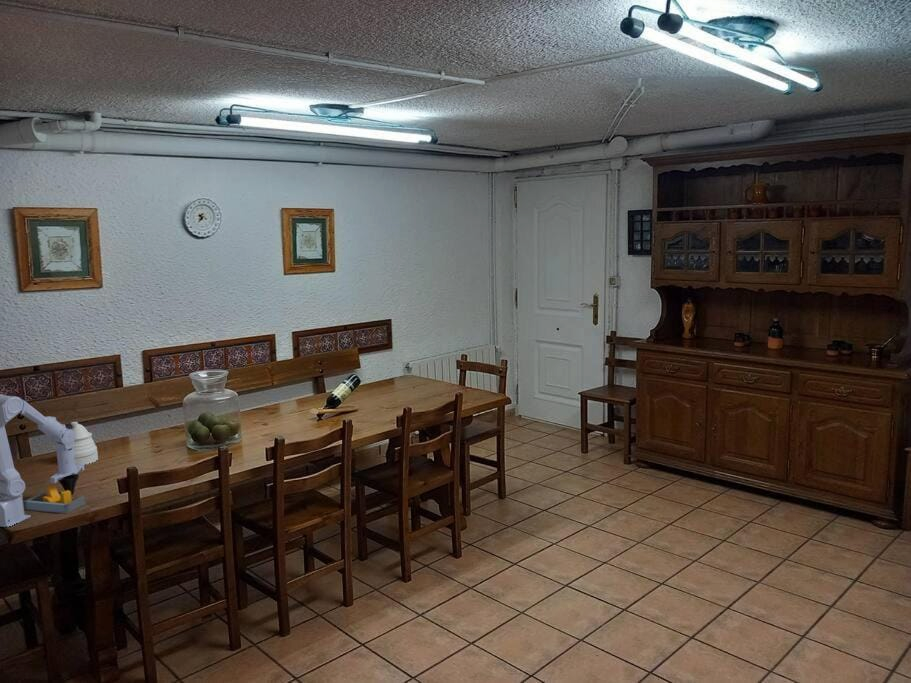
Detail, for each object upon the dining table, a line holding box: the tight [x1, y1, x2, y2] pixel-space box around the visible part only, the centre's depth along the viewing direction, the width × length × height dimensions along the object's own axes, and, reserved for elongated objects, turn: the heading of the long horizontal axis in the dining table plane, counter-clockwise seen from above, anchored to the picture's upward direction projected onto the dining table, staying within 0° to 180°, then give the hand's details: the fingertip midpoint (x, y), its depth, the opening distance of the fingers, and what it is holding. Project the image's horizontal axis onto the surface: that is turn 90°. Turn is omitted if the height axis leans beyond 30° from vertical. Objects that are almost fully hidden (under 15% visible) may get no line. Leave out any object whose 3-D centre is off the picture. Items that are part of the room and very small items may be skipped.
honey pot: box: [70, 421, 99, 466], centre depth 305 cm, size 13×13×18 cm
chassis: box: [23, 492, 86, 514], centre depth 255 cm, size 9×18×3 cm, turn 77°
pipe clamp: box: [43, 484, 73, 504], centre depth 255 cm, size 12×4×6 cm, turn 56°
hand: (70, 494), depth 262 cm, fingers closed
